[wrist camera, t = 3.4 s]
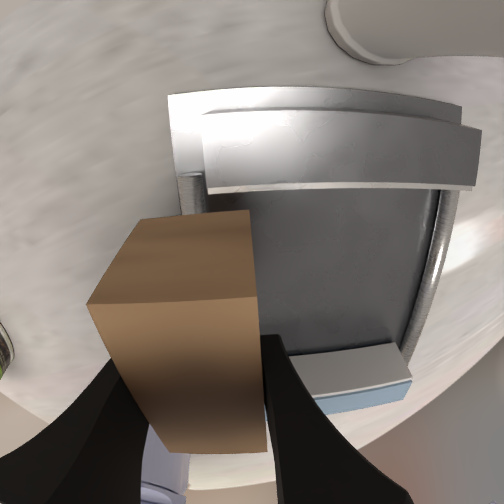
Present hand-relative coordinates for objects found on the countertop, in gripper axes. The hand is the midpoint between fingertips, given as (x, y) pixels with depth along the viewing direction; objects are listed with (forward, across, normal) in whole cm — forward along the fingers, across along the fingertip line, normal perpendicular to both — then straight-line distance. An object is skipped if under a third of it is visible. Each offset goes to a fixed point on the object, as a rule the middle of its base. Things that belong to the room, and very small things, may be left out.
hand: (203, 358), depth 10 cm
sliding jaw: (+8, -6, +10) cm, 14 cm away
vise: (+8, -6, +2) cm, 11 cm away
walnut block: (+3, 0, 0) cm, 3 cm away
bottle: (+9, -9, -12) cm, 17 cm away
